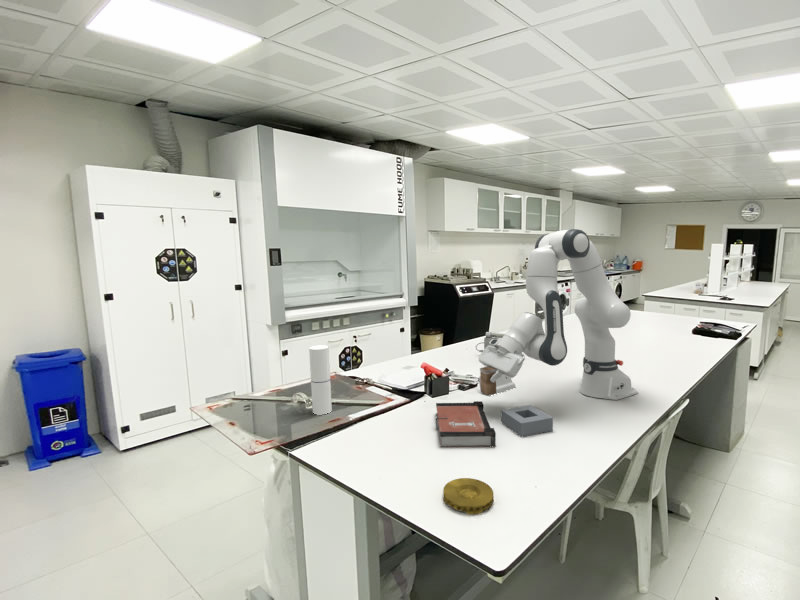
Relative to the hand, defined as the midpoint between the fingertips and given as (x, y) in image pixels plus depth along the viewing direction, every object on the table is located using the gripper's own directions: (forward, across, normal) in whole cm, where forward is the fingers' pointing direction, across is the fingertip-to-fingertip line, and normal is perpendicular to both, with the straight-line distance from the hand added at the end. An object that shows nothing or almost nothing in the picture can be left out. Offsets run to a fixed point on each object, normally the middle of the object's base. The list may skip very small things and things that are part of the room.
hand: (486, 379), depth 152 cm
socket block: (+5, -15, -13) cm, 21 cm away
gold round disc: (+32, -43, +14) cm, 56 cm away
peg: (+3, 0, -4) cm, 5 cm away
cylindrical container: (+48, +27, +31) cm, 63 cm away
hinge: (-2, +21, -22) cm, 30 cm away
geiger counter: (-23, +64, -42) cm, 80 cm away
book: (+20, -8, +1) cm, 21 cm away
